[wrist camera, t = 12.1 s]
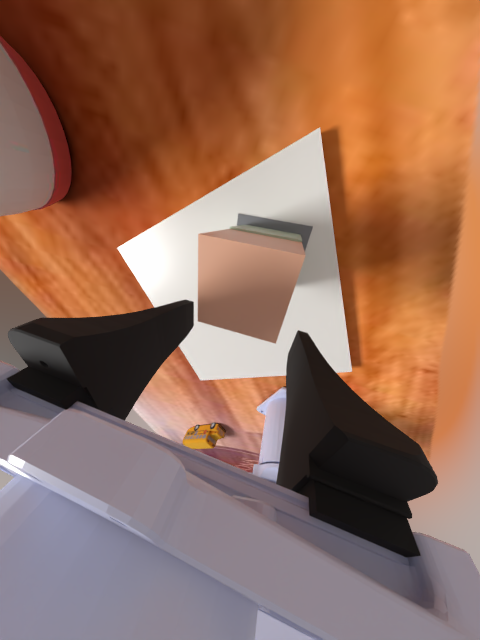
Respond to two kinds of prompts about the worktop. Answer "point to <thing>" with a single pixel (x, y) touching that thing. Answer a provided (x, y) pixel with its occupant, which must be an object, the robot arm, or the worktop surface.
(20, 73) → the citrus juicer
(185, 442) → the toy bus
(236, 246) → the terracotta brick
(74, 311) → the worktop surface
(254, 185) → the baseplate
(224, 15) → the worktop surface
